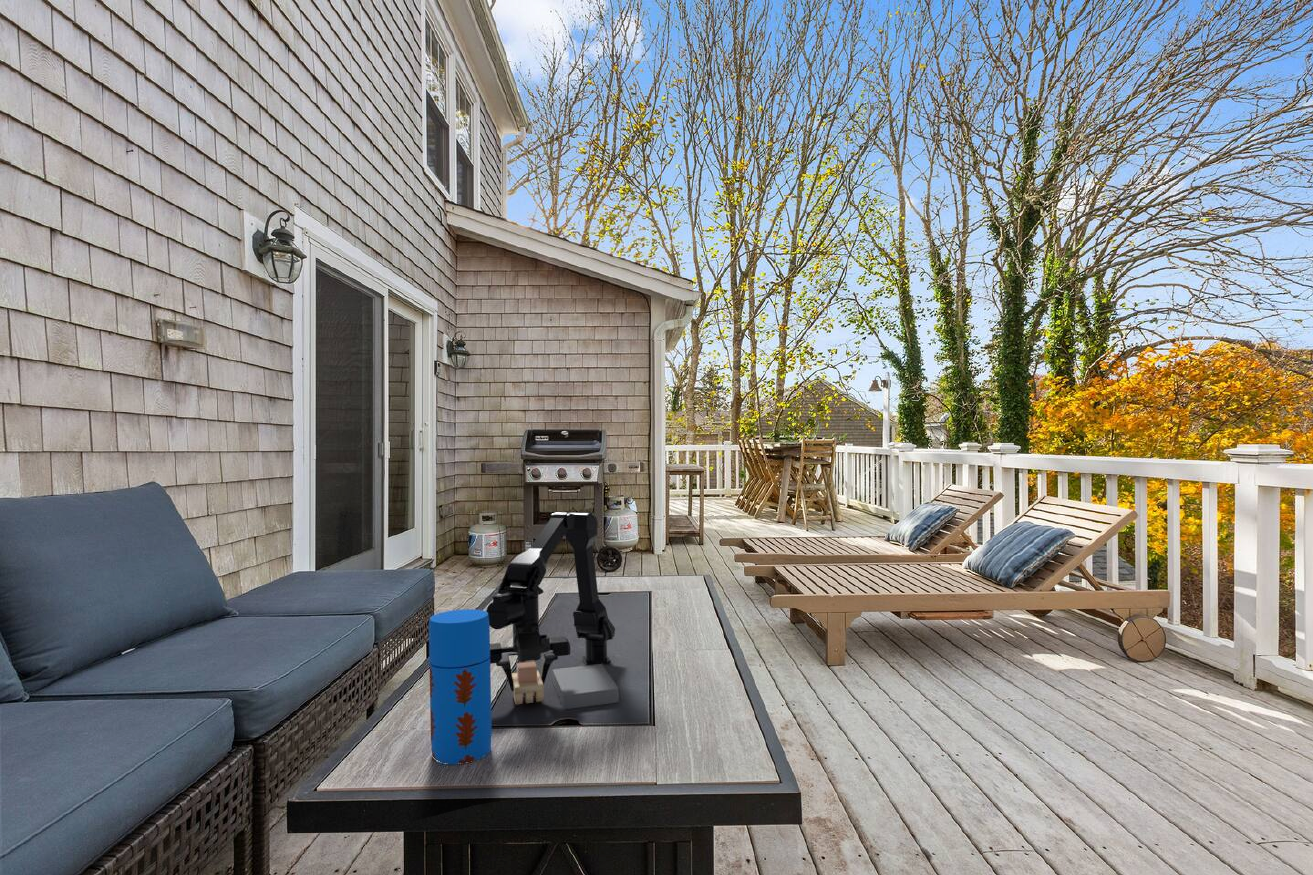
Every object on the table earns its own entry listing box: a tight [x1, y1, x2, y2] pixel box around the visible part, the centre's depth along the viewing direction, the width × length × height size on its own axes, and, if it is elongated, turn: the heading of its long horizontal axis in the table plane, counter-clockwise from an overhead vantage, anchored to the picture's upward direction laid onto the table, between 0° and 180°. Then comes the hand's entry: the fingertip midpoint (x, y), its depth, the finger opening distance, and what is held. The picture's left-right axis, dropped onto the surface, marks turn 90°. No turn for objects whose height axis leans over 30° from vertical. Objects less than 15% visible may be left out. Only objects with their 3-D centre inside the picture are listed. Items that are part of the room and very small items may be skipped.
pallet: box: [511, 669, 545, 705], centre depth 149 cm, size 10×6×4 cm, turn 16°
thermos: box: [428, 608, 492, 765], centre depth 125 cm, size 11×11×25 cm
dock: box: [552, 664, 620, 710], centre depth 155 cm, size 18×12×3 cm, turn 16°
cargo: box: [516, 660, 538, 683], centre depth 149 cm, size 4×4×3 cm
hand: (527, 688), depth 149 cm, fingers closed on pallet, 6 cm apart
